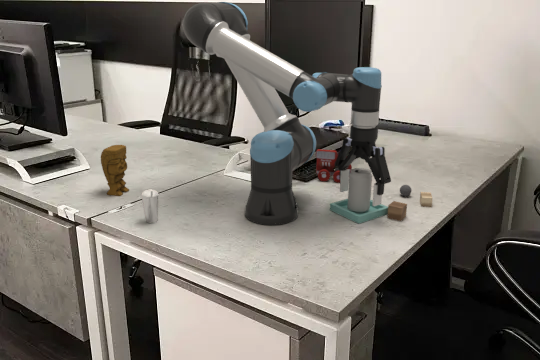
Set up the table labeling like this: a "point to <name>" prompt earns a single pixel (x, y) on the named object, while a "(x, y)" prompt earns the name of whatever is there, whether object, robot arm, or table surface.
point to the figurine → (115, 168)
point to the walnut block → (397, 211)
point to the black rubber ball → (405, 190)
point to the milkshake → (150, 205)
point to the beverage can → (359, 190)
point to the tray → (372, 213)
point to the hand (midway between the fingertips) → (359, 197)
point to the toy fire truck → (328, 165)
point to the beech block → (426, 199)
